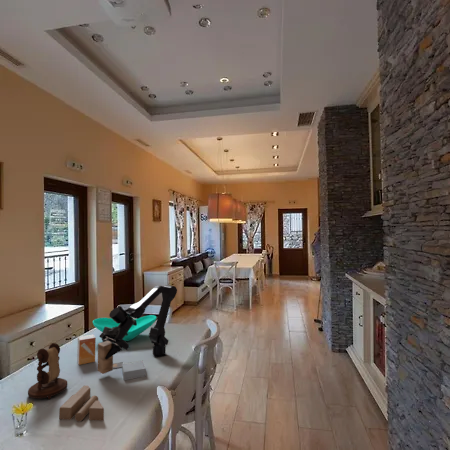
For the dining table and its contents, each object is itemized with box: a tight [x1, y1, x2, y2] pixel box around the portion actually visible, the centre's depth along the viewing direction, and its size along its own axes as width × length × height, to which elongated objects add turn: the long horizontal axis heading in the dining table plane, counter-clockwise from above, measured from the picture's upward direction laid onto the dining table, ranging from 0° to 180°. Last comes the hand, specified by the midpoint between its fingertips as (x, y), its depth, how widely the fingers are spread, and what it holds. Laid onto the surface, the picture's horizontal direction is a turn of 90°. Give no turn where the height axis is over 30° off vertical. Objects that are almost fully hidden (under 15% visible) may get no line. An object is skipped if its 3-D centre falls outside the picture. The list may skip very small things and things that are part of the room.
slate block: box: [121, 360, 147, 381], centre depth 148 cm, size 10×10×4 cm
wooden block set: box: [58, 385, 105, 422], centre depth 119 cm, size 17×6×18 cm
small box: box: [76, 333, 97, 366], centre depth 162 cm, size 8×6×13 cm
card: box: [113, 361, 124, 370], centre depth 156 cm, size 8×6×1 cm
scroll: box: [27, 342, 68, 400], centre depth 130 cm, size 15×15×20 cm
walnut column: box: [97, 341, 114, 375], centre depth 145 cm, size 5×5×13 cm
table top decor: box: [92, 314, 158, 342], centre depth 195 cm, size 40×28×13 cm
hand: (102, 357), depth 144 cm, fingers closed on walnut column, 5 cm apart
